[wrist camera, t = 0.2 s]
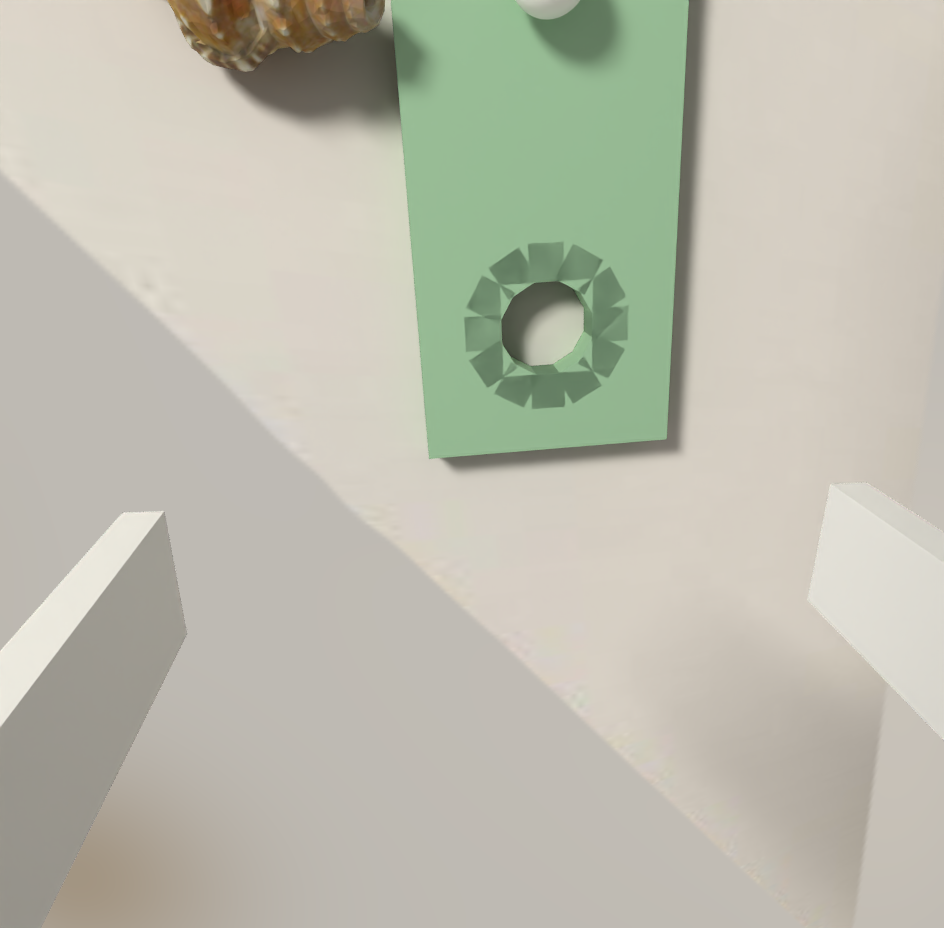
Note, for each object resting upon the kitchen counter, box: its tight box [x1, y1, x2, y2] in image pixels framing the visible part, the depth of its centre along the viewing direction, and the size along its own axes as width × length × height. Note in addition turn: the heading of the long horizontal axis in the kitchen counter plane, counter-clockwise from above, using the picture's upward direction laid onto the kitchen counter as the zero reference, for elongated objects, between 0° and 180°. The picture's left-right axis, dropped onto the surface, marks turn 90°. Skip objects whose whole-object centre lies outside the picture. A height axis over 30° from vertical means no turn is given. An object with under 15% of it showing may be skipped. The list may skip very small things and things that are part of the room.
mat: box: [391, 0, 689, 459], centre depth 36 cm, size 28×14×2 cm, turn 3°
